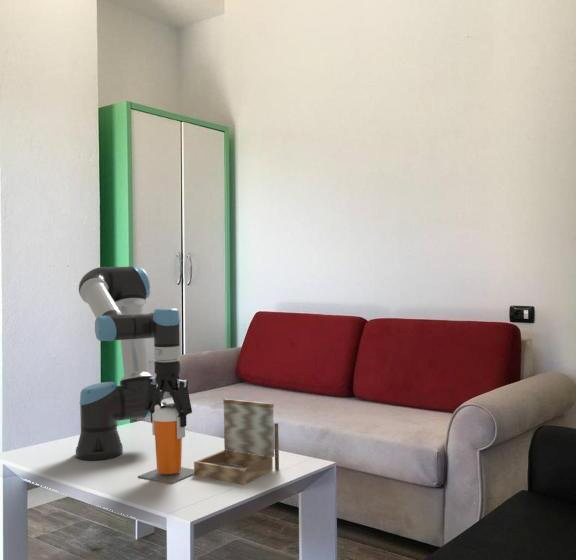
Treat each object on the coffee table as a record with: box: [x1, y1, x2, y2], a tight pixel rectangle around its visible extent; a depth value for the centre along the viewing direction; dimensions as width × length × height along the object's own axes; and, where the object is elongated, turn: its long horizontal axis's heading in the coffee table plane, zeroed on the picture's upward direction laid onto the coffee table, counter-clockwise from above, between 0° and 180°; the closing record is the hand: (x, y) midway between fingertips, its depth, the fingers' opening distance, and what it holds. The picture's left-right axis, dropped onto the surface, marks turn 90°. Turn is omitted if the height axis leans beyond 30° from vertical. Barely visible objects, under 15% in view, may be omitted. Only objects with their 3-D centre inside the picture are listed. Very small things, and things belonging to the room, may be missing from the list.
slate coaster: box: [137, 466, 195, 485], centre depth 198 cm, size 13×13×1 cm
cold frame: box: [193, 398, 280, 485], centre depth 199 cm, size 19×17×20 cm
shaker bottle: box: [153, 401, 183, 474], centre depth 198 cm, size 9×9×20 cm
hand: (168, 435), depth 198 cm, fingers closed on shaker bottle, 9 cm apart
